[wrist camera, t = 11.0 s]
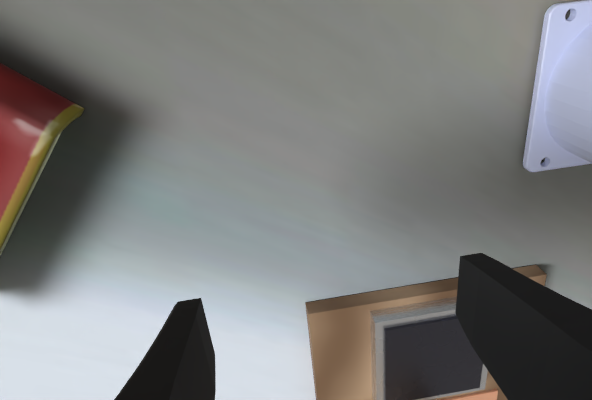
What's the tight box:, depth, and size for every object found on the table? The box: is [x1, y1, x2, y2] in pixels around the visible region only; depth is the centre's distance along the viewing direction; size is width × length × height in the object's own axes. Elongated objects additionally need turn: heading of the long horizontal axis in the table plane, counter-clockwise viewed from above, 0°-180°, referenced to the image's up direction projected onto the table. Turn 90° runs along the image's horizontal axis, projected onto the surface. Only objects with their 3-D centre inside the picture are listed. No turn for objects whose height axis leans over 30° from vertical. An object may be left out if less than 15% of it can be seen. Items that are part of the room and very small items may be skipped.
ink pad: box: [370, 296, 488, 400], centre depth 26 cm, size 7×7×1 cm
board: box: [306, 265, 547, 400], centre depth 29 cm, size 14×18×1 cm
